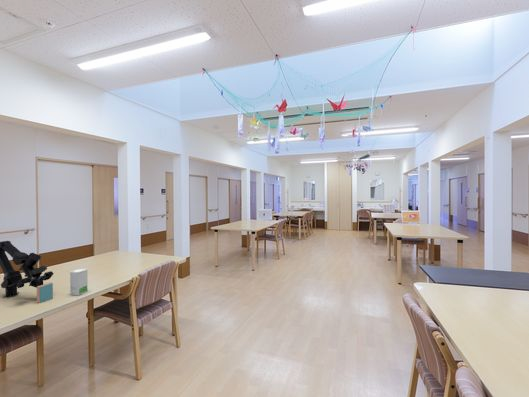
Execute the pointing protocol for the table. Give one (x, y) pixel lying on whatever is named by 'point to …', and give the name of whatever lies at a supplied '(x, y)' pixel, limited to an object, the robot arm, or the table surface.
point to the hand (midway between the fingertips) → (42, 289)
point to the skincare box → (78, 282)
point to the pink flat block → (44, 292)
